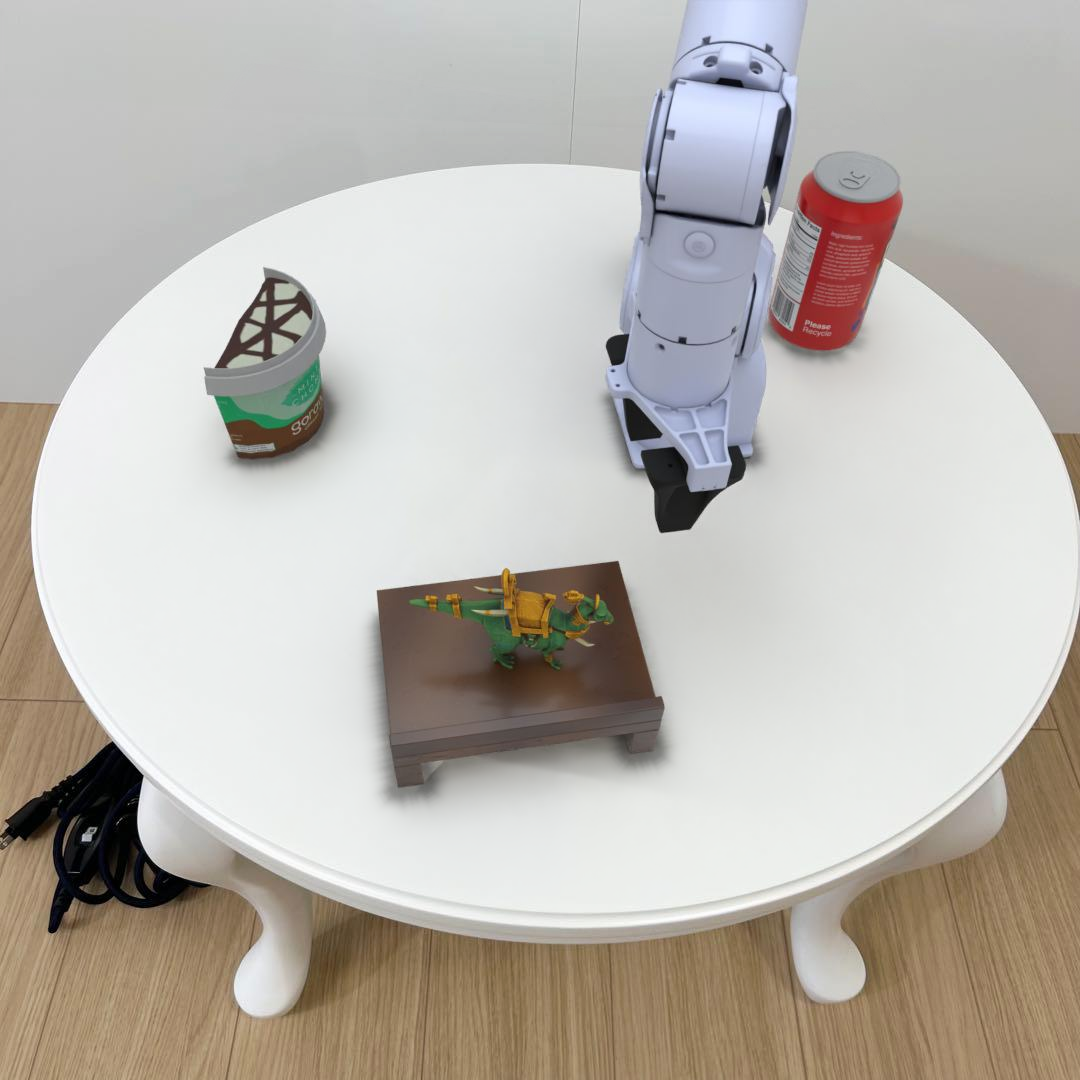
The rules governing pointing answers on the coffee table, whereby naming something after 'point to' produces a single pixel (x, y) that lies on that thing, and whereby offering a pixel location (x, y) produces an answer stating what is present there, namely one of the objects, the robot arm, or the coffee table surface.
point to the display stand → (511, 675)
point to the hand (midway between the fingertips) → (658, 480)
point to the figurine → (524, 618)
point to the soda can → (835, 249)
